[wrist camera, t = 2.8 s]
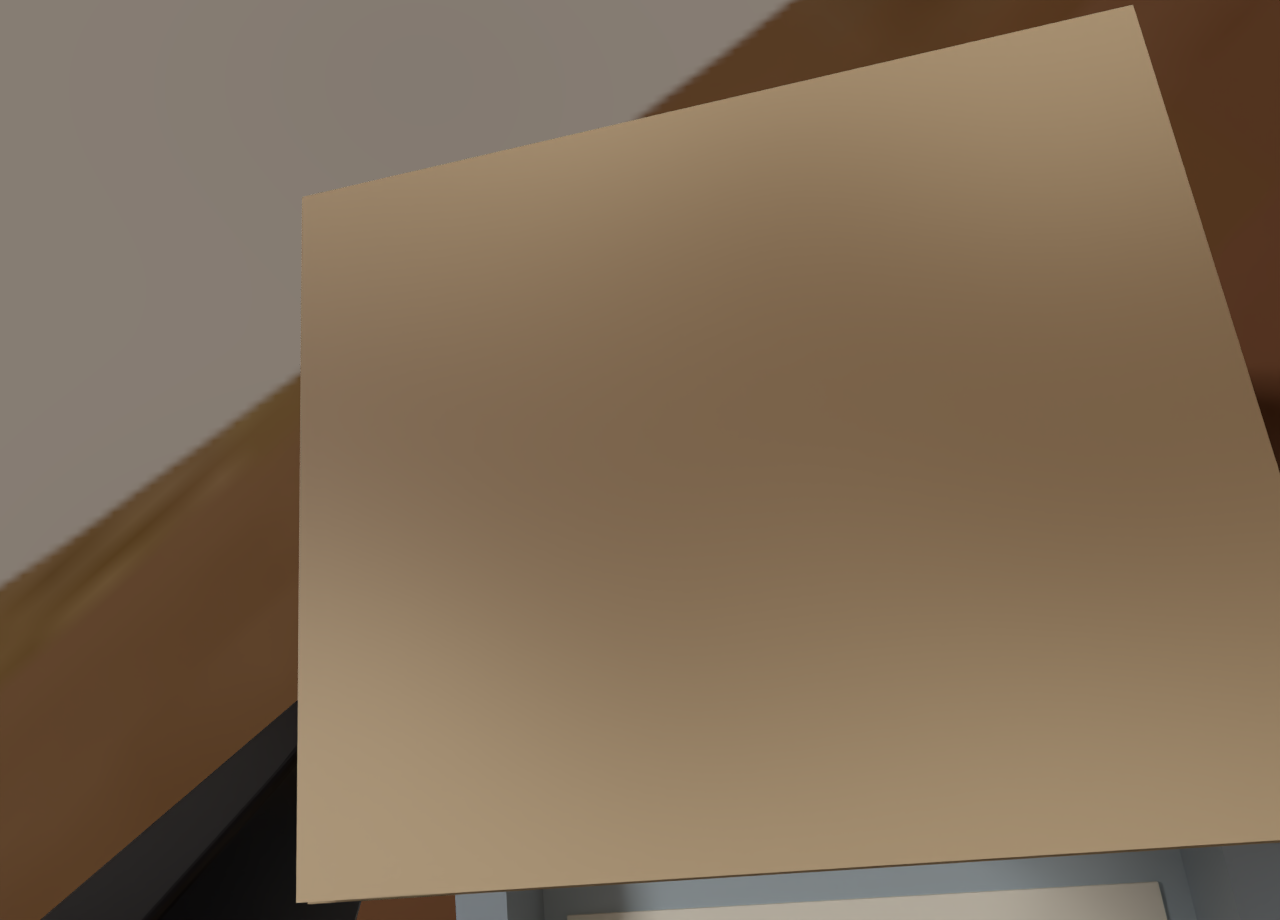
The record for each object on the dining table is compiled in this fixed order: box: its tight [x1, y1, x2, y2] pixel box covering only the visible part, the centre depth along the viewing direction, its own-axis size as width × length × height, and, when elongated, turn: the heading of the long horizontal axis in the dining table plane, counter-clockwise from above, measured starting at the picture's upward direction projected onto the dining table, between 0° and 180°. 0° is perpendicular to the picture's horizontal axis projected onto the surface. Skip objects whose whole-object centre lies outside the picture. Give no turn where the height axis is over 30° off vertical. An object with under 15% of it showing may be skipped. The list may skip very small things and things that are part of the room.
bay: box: [455, 843, 1280, 920], centre depth 15 cm, size 16×18×6 cm
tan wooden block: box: [296, 5, 1280, 904], centre depth 12 cm, size 5×6×13 cm
